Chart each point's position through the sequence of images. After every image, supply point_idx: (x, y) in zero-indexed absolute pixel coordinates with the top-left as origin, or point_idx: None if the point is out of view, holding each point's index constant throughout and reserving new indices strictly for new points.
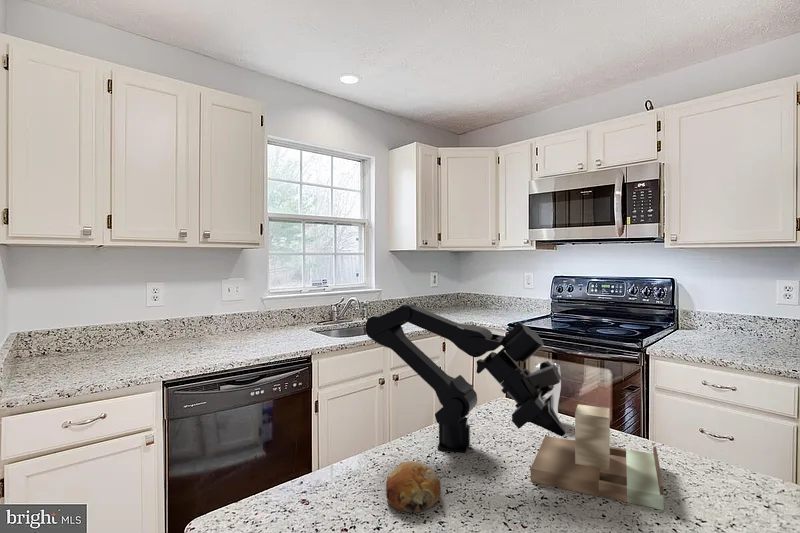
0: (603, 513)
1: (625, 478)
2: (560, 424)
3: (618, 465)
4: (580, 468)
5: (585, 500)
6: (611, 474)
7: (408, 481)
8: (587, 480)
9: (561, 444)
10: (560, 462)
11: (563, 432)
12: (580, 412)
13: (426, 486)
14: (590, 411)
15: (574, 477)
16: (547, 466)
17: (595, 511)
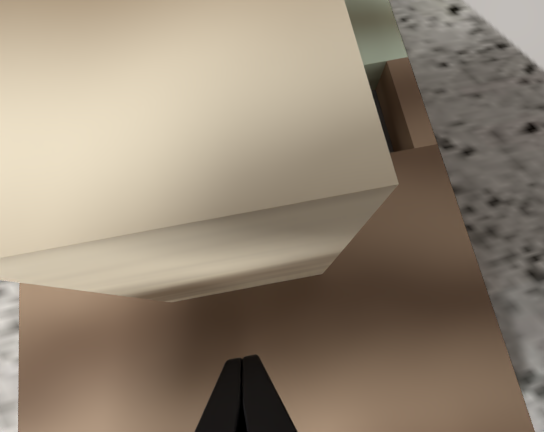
0: (518, 131)
1: None
2: (233, 418)
3: None
4: (358, 239)
5: (480, 197)
6: None
7: None
8: (449, 185)
9: (114, 414)
10: (356, 341)
11: (264, 369)
12: (318, 132)
13: None
14: (195, 44)
15: (467, 236)
16: (450, 385)
17: (526, 153)
